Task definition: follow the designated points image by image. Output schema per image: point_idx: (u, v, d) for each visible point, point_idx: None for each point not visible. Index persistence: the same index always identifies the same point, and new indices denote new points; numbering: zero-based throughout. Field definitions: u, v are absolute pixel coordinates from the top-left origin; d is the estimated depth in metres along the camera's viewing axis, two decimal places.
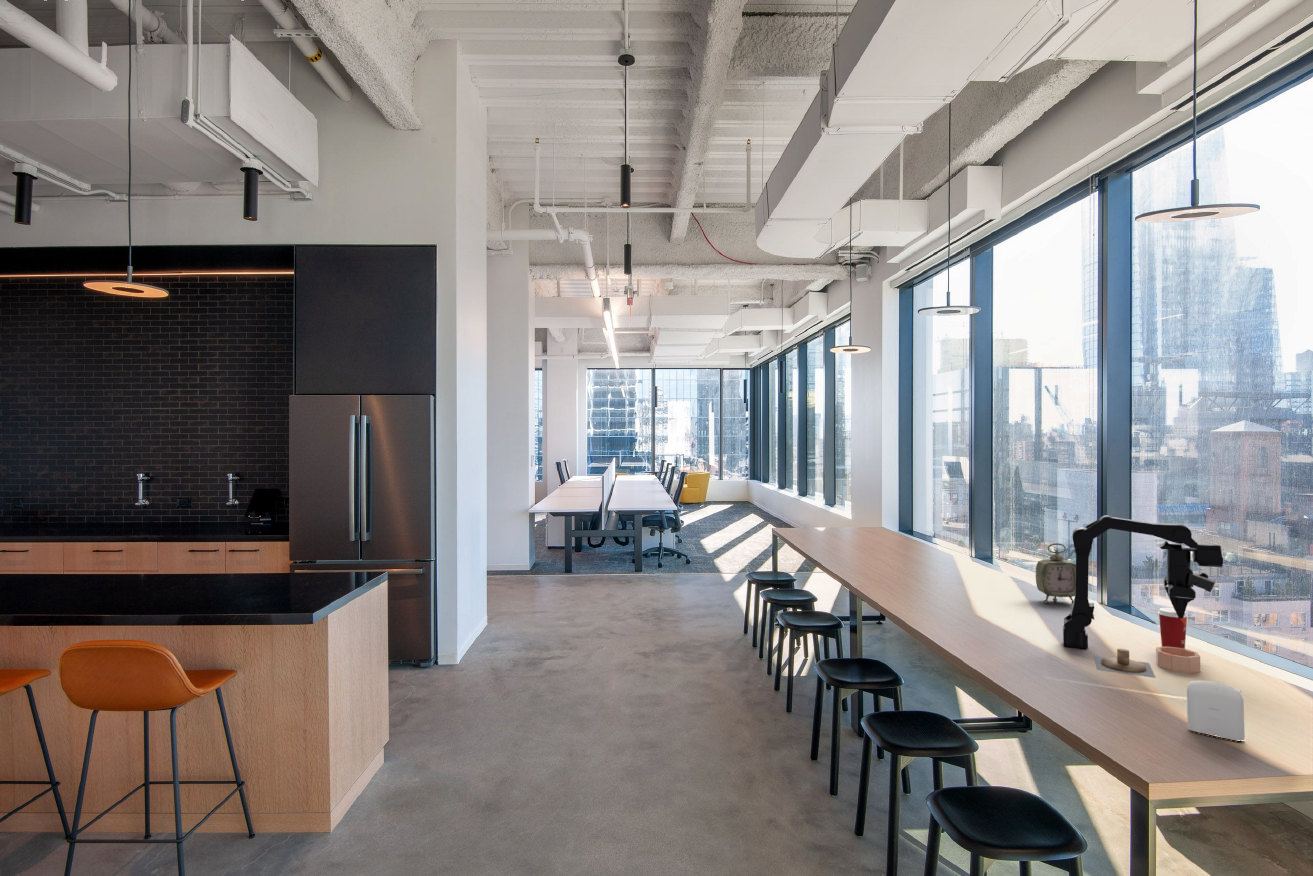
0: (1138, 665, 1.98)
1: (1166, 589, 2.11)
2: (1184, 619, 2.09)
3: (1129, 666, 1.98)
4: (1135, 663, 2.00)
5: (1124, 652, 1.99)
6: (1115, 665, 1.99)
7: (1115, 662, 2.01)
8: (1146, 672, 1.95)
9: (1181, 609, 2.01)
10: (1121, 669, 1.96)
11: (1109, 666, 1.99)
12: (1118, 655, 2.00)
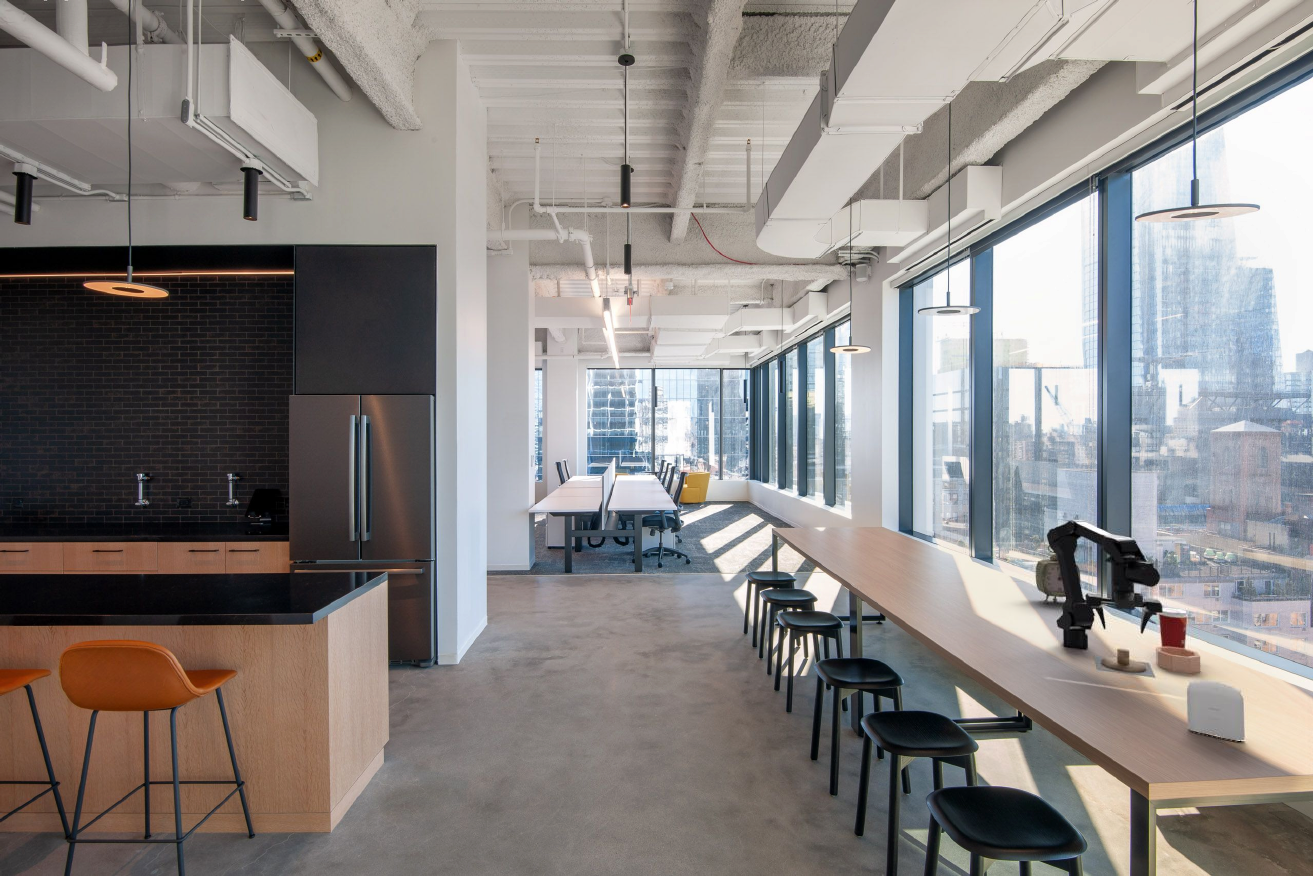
0: (1138, 665, 1.98)
1: (1142, 609, 2.00)
2: (1184, 619, 2.09)
3: (1129, 666, 1.98)
4: (1135, 663, 2.00)
5: (1124, 652, 1.99)
6: (1115, 665, 1.99)
7: (1115, 662, 2.01)
8: (1146, 672, 1.95)
9: (1100, 619, 2.03)
10: (1121, 669, 1.96)
11: (1109, 666, 1.99)
12: (1118, 655, 2.00)
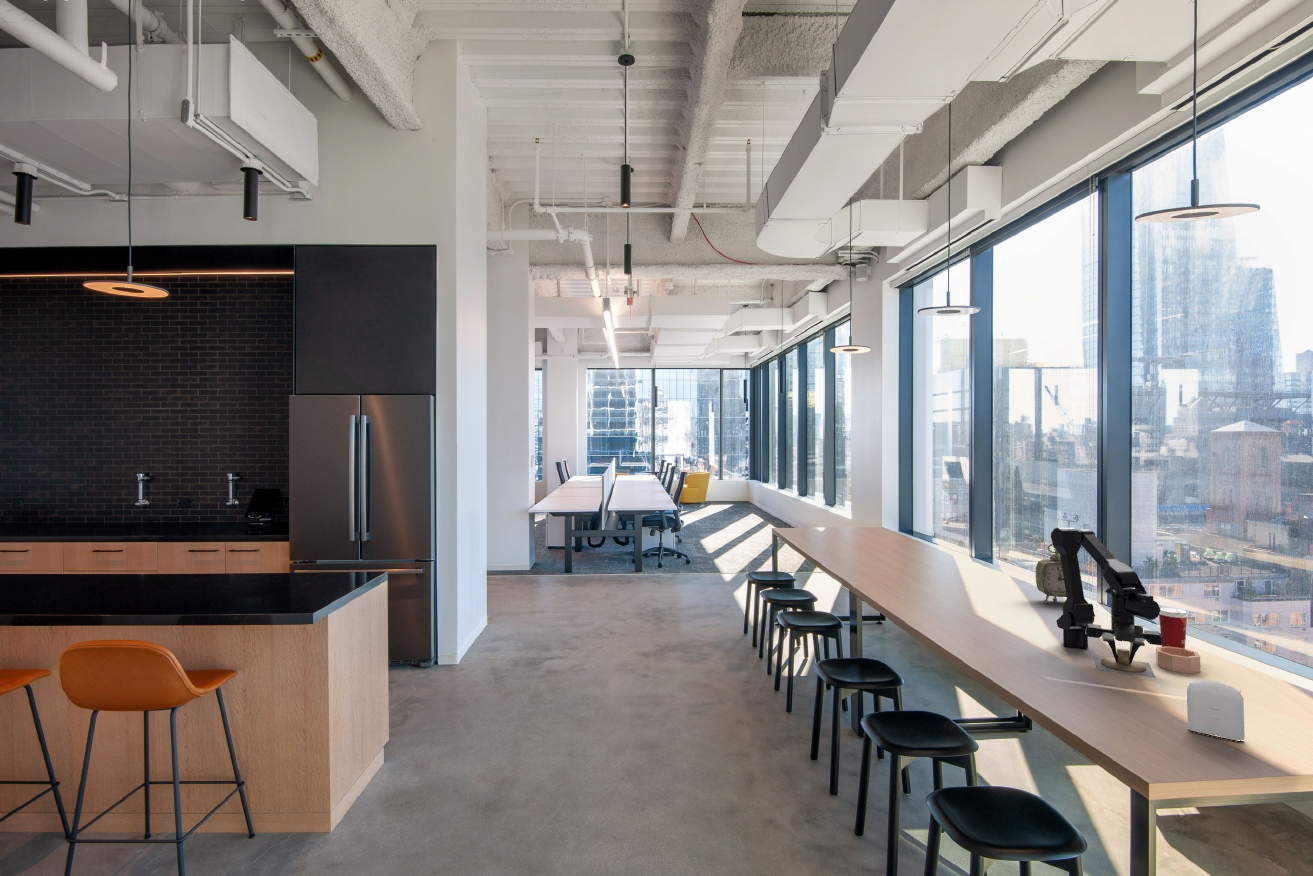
0: (1138, 665, 1.98)
1: None
2: (1184, 619, 2.09)
3: (1129, 666, 1.98)
4: (1135, 663, 2.00)
5: (1124, 652, 1.99)
6: (1115, 665, 1.99)
7: (1115, 662, 2.01)
8: (1146, 672, 1.95)
9: (1112, 651, 2.02)
10: (1121, 669, 1.96)
11: (1109, 666, 1.99)
12: (1118, 655, 2.00)
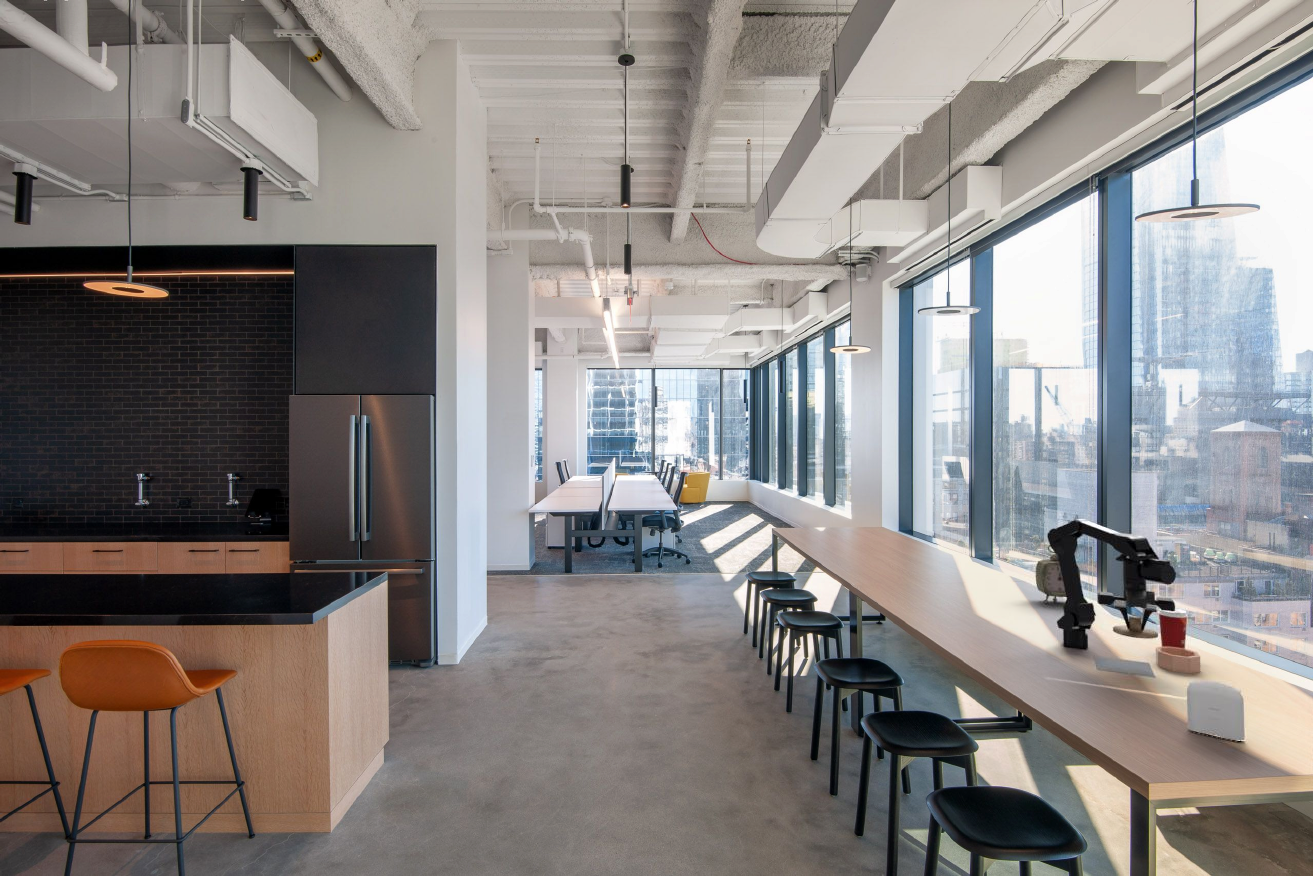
0: (1150, 632, 1.98)
1: None
2: (1184, 619, 2.09)
3: (1141, 633, 1.97)
4: (1147, 630, 2.00)
5: (1136, 619, 1.99)
6: (1127, 632, 1.98)
7: (1127, 629, 2.01)
8: (1146, 672, 1.95)
9: (1124, 619, 2.01)
10: (1133, 635, 1.96)
11: (1121, 633, 1.98)
12: (1130, 622, 2.00)
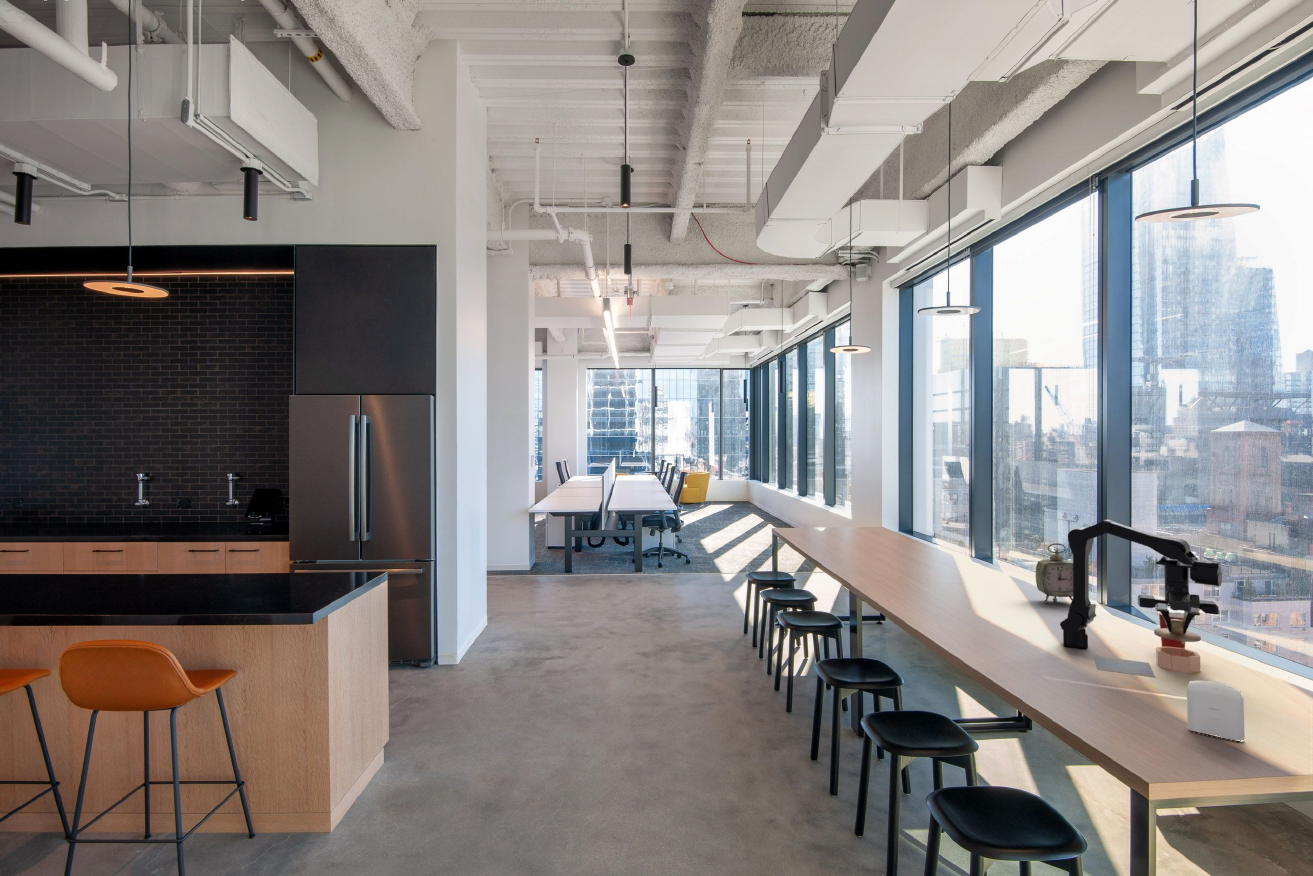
0: (1192, 635, 1.97)
1: None
2: None
3: (1184, 636, 1.97)
4: (1189, 633, 1.99)
5: (1178, 622, 1.98)
6: (1169, 635, 1.97)
7: (1169, 632, 2.00)
8: (1146, 672, 1.95)
9: (1165, 622, 2.01)
10: (1176, 639, 1.95)
11: (1163, 636, 1.98)
12: (1172, 625, 1.99)
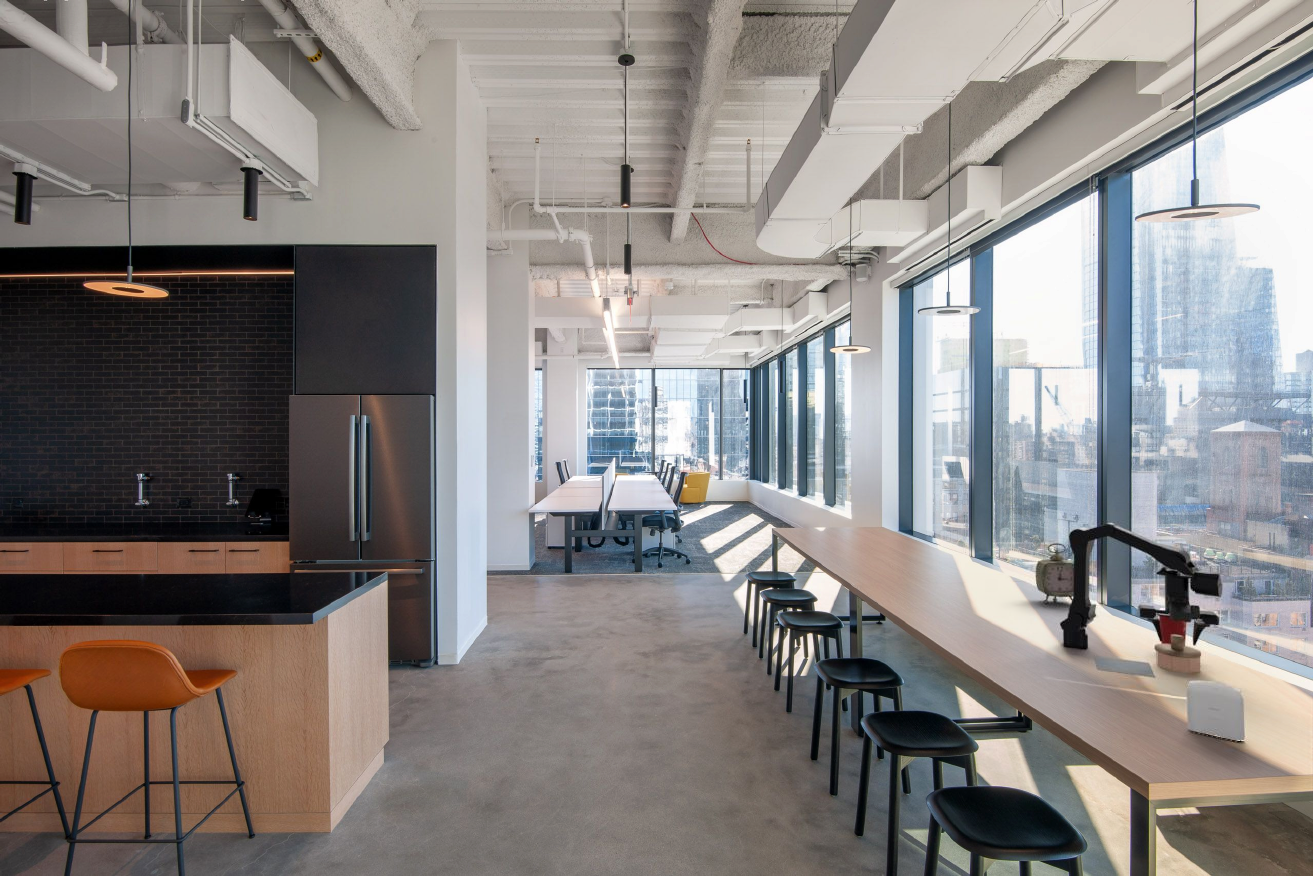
0: (1193, 651, 1.97)
1: (1194, 621, 1.99)
2: None
3: (1184, 652, 1.97)
4: (1189, 649, 1.99)
5: (1179, 638, 1.98)
6: (1170, 651, 1.97)
7: (1169, 648, 2.00)
8: (1146, 672, 1.95)
9: (1156, 631, 2.02)
10: (1176, 655, 1.95)
11: (1164, 652, 1.98)
12: (1172, 641, 1.99)
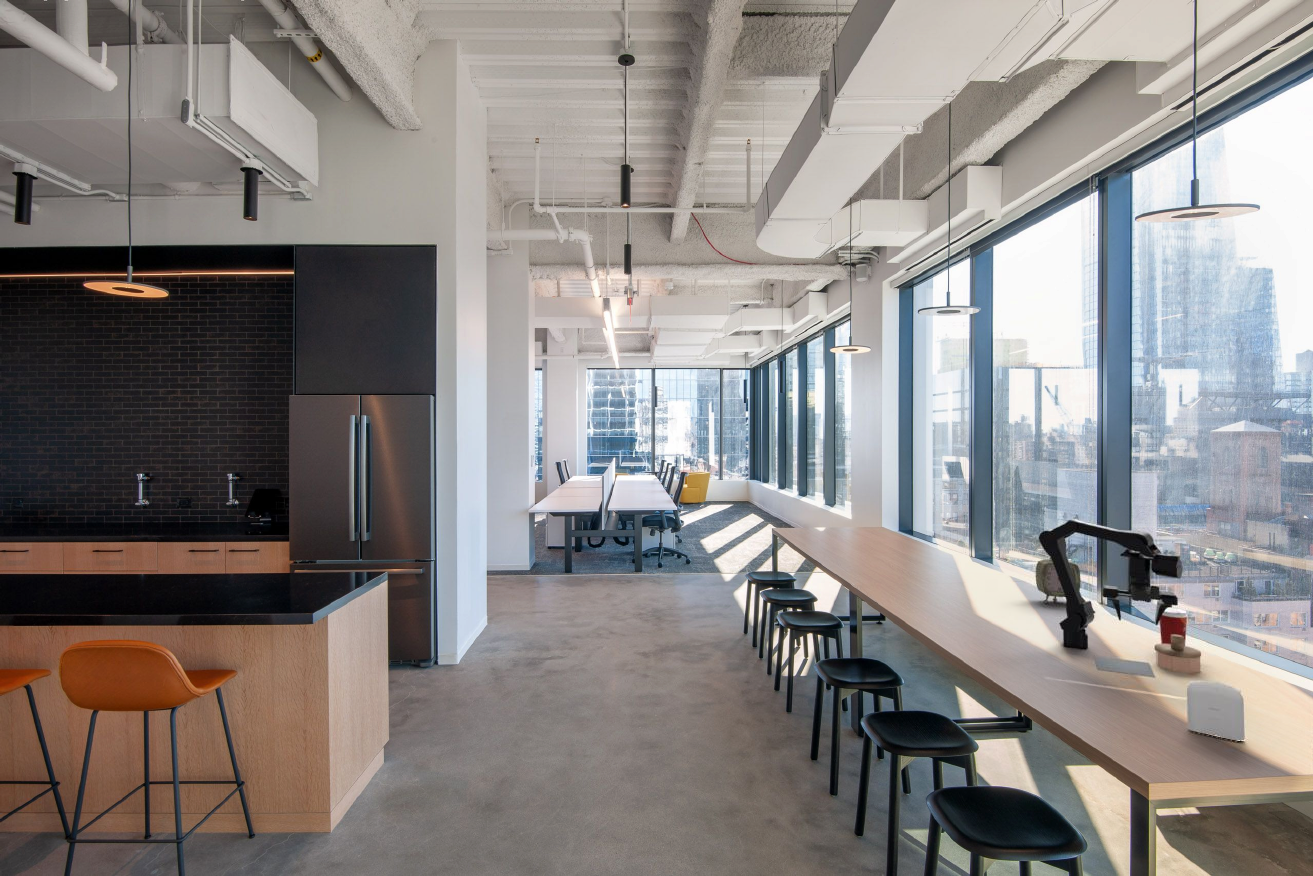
0: (1193, 651, 1.97)
1: (1157, 602, 2.06)
2: (1184, 619, 2.09)
3: (1184, 652, 1.97)
4: (1189, 649, 1.99)
5: (1179, 638, 1.98)
6: (1170, 651, 1.97)
7: (1169, 648, 2.00)
8: (1146, 672, 1.95)
9: (1116, 610, 2.09)
10: (1176, 655, 1.95)
11: (1164, 652, 1.98)
12: (1172, 641, 1.99)
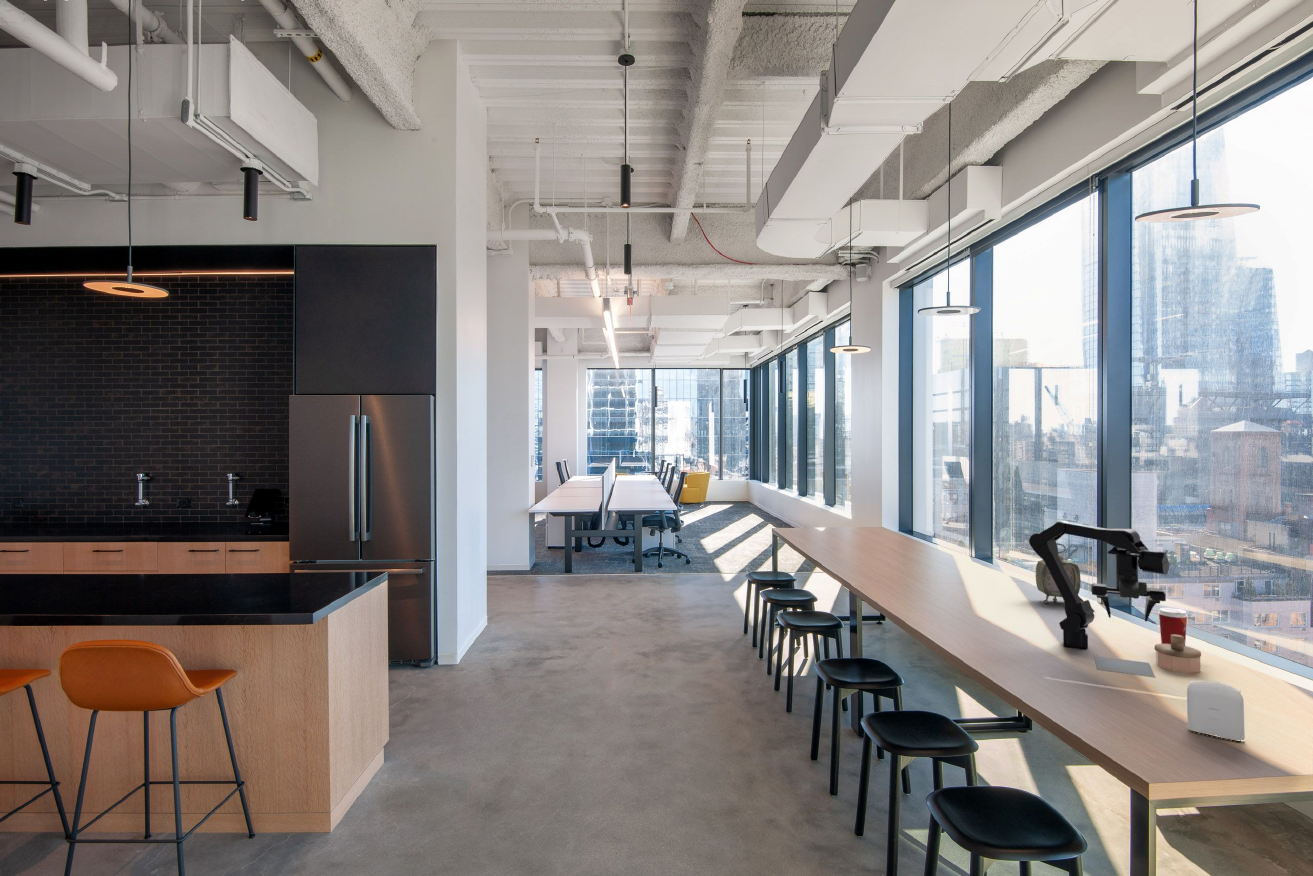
0: (1193, 651, 1.97)
1: None
2: (1184, 619, 2.09)
3: (1184, 652, 1.97)
4: (1189, 649, 1.99)
5: (1179, 638, 1.98)
6: (1170, 651, 1.97)
7: (1169, 648, 2.00)
8: (1146, 672, 1.95)
9: None
10: (1176, 655, 1.95)
11: (1164, 652, 1.98)
12: (1172, 641, 1.99)
